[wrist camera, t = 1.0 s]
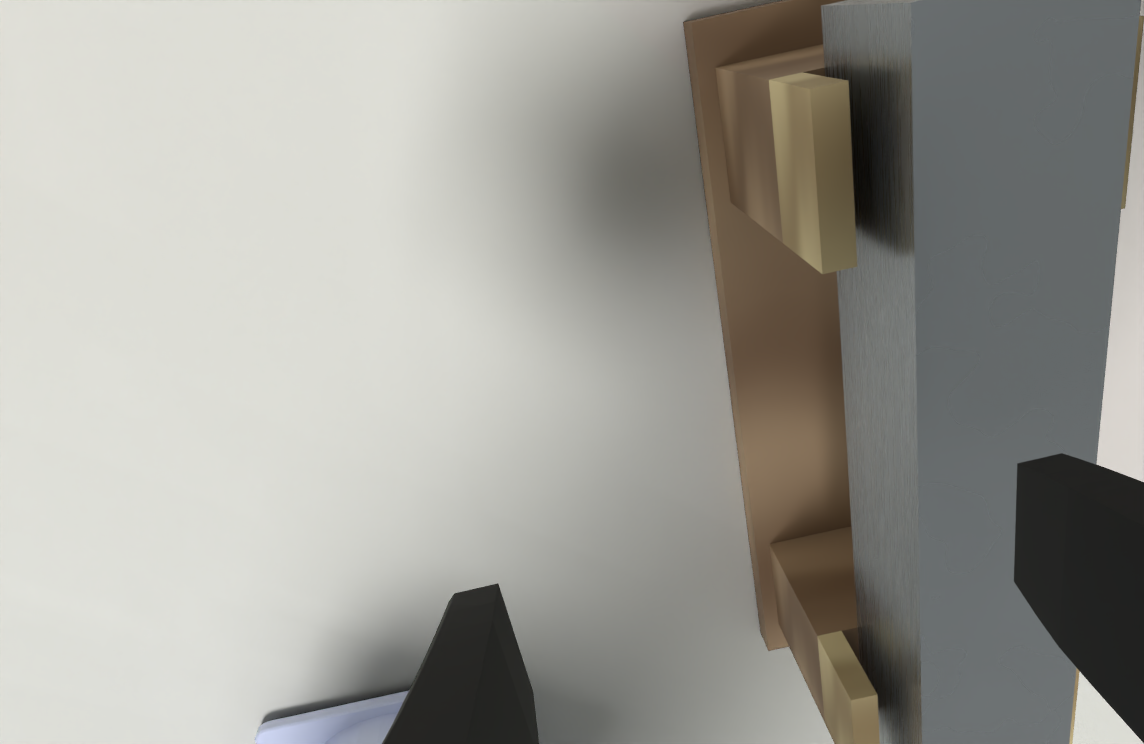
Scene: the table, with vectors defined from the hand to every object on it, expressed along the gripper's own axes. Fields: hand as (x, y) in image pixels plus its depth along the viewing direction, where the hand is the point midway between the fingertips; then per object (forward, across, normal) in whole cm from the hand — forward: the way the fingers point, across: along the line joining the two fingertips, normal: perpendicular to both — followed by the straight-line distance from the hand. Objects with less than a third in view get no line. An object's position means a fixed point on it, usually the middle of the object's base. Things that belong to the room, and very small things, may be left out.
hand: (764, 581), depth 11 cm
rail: (+6, -5, +2) cm, 8 cm away
